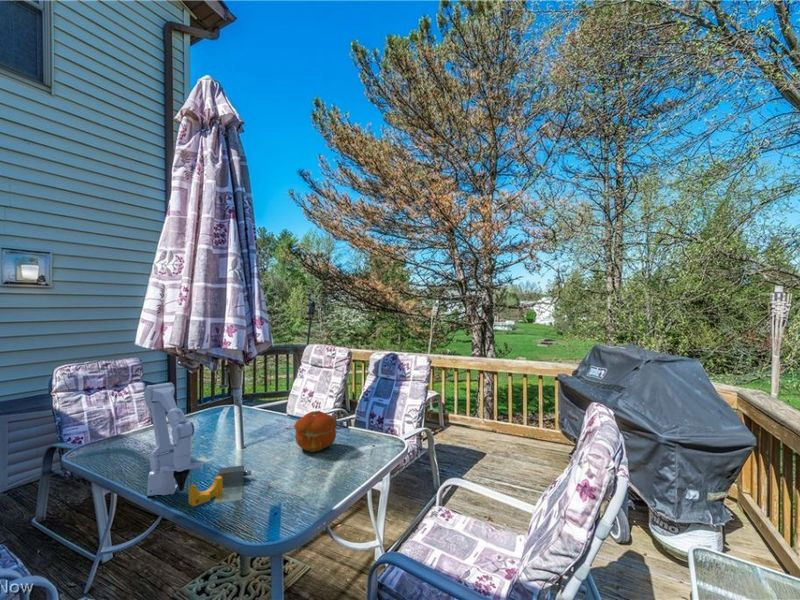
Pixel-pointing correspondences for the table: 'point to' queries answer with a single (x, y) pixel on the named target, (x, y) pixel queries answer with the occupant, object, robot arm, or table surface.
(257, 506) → the table surface
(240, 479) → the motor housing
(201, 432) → the table surface
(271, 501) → the table surface
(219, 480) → the pipe clamp
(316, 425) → the pumpkin
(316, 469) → the table surface
